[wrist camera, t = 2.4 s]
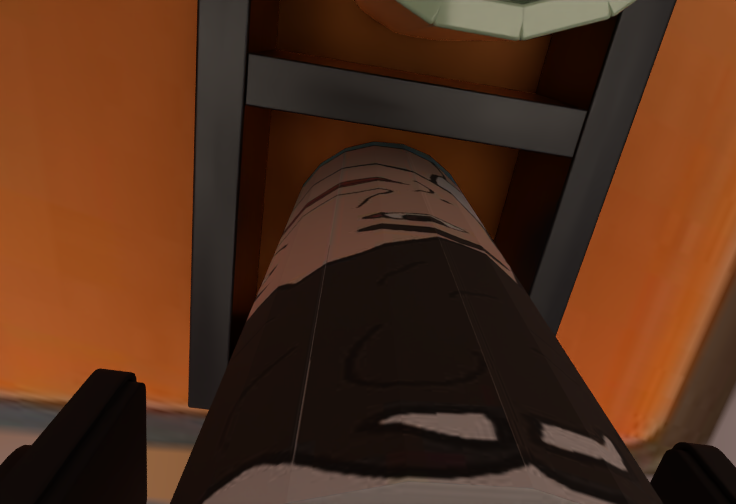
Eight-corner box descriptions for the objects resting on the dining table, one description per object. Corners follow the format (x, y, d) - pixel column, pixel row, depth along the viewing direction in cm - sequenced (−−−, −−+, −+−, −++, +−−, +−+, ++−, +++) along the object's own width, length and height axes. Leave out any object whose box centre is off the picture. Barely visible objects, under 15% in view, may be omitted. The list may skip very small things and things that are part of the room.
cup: (467, 134, 18) (823, 456, 4) (466, 299, 20) (680, 838, 7) (280, 148, 18) (6, 505, 4) (303, 311, 21) (182, 859, 7)
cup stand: (222, 335, 21) (187, 408, 17) (260, -393, 13) (210, -603, 8) (487, 370, 22) (516, 447, 18) (691, -293, 13) (837, -442, 9)
